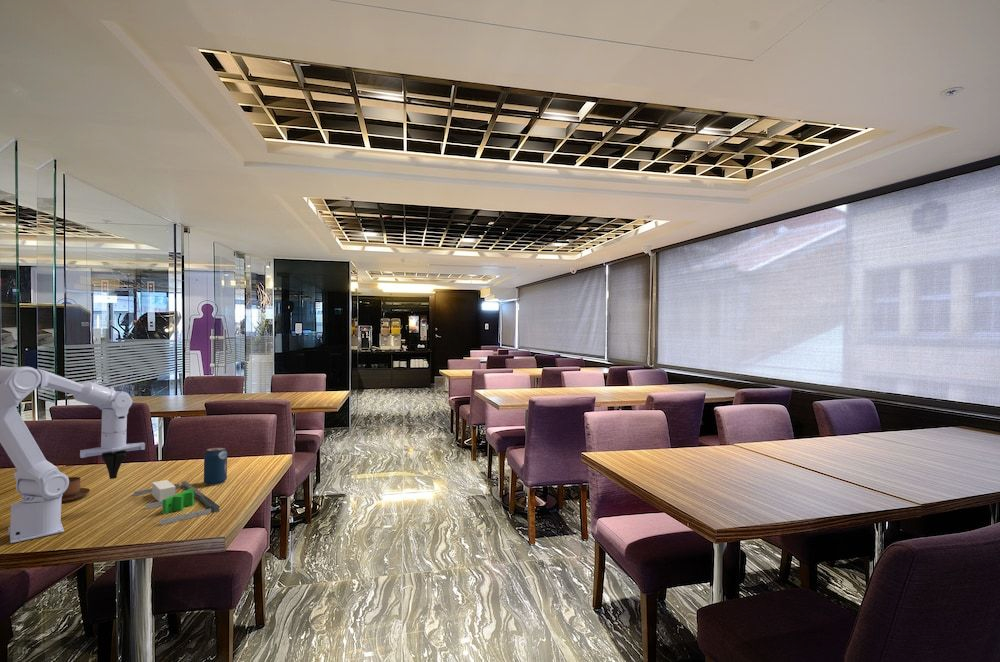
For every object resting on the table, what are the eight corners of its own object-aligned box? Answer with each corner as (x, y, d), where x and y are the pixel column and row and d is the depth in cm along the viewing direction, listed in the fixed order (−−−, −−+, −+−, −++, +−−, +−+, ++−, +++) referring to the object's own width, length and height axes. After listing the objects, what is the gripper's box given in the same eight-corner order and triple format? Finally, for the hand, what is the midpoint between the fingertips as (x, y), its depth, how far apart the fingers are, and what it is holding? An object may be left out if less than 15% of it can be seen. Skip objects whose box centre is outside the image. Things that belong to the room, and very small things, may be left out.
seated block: (159, 502, 140) (160, 489, 141) (151, 494, 148) (152, 482, 148) (175, 499, 143) (175, 486, 144) (166, 491, 151) (167, 479, 151)
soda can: (230, 482, 162) (231, 448, 162) (209, 487, 156) (210, 451, 156) (220, 479, 166) (221, 445, 166) (199, 483, 160) (200, 449, 160)
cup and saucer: (37, 500, 144) (37, 480, 144) (88, 491, 152) (88, 472, 152) (36, 509, 135) (37, 488, 135) (91, 499, 144) (91, 480, 144)
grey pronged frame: (160, 525, 123) (160, 519, 123) (134, 495, 148) (134, 490, 148) (219, 511, 133) (219, 506, 133) (185, 485, 158) (185, 481, 158)
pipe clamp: (173, 515, 131) (173, 500, 131) (162, 514, 131) (162, 499, 131) (200, 502, 141) (200, 488, 141) (190, 502, 141) (190, 488, 142)
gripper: (82, 437, 127) (81, 486, 126) (147, 430, 137) (146, 475, 137) (79, 433, 132) (78, 481, 131) (142, 427, 142) (141, 471, 142)
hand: (112, 477), depth 134 cm, fingers closed
